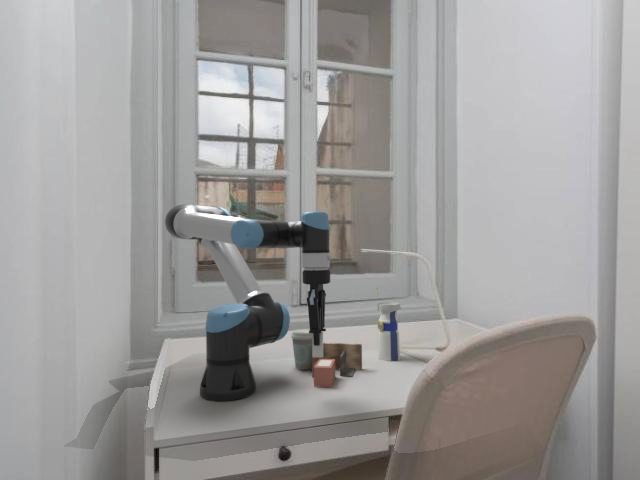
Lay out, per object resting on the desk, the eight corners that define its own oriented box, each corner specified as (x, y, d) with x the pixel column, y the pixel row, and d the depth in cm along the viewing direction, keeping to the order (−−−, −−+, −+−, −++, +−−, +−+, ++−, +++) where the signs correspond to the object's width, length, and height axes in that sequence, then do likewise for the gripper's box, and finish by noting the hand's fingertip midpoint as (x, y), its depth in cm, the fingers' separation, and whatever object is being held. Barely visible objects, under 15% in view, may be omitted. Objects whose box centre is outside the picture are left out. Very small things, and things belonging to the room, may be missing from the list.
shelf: (312, 377, 124) (311, 350, 124) (319, 366, 135) (319, 342, 135) (357, 379, 121) (357, 352, 121) (362, 368, 132) (361, 344, 132)
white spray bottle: (385, 362, 138) (384, 289, 138) (372, 356, 146) (372, 286, 146) (405, 359, 141) (404, 287, 141) (392, 354, 149) (391, 285, 149)
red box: (314, 386, 116) (313, 367, 116) (319, 376, 125) (319, 358, 125) (331, 387, 115) (331, 367, 115) (335, 377, 124) (335, 359, 124)
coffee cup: (286, 367, 134) (285, 330, 134) (306, 362, 140) (305, 327, 140) (302, 373, 128) (302, 334, 128) (322, 367, 134) (322, 330, 134)
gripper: (324, 270, 103) (326, 364, 102) (334, 267, 116) (335, 351, 115) (296, 270, 104) (298, 362, 104) (308, 268, 117) (310, 350, 117)
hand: (318, 356), depth 110 cm, fingers closed
